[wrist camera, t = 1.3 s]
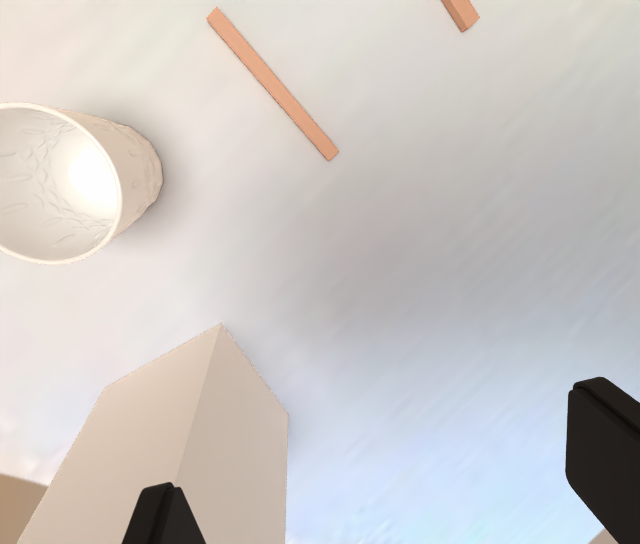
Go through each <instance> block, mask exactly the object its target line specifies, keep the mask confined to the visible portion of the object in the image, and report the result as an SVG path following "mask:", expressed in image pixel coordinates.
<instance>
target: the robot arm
mask: <svg viewBox="0 0 640 544" xmlns="http://www.w3.org/2000/svg"><path fill="white" fill-rule="evenodd" d="M565 472H566V477H567V480H568V482H569V484H570V486H571V487H572V489H573V490H574V491H575V492H576V494H577V495H578V496H579V497H580V498H581V500H582V501H583V502H584V503H585V504H586V505H587V507H588V508H589V509H590V510H591V511H592V513H593V514H594V515H595V516H596V517H597V519H598V520H599V521H600V522H601V523H602V524H603V526H604V527H605V528H606V529H607V530H608V531H609V533H610V534H611V535H612V536H613V538H614V539H615V540H616V541H617V542H618V543H619V544H640V403H639V402H638V401H636V400H635V399H633V398H632V397H631V396H629V395H628V394H627V393H625V392H624V391H623V390H621V389H620V388H619V387H617V386H616V385H614V384H613V383H612V382H610V381H609V380H607V379H606V378H604V377H596V378H592V379H588V380H584V381H580V382H576V383H575V384H574V385H573V390H571V391H570V392H569V394H568V416H567V442H566V468H565ZM122 544H206V542H205V540H204V537H203V535H202V533H201V531H200V528H199V526H198V524H197V522H196V520H195V517H194V515H193V513H192V511H191V508H190V506H189V504H188V502H187V499H186V497H185V495H184V493H183V490H182V489H181V487H174V485H173V484H172V483H171V482H166V483H162V484H158V485H154V486H150V487H146V488H144V489H143V490H142V491H141V493H140V495H139V498H138V501H137V503H136V506H135V509H134V511H133V514H132V517H131V519H130V522H129V525H128V527H127V530H126V533H125V535H124V538H123V541H122Z"/></svg>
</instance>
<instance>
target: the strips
mask: <svg viewBox="0 0 640 544" xmlns="http://www.w3.org/2000/svg"><path fill="white" fill-rule="evenodd" d="M442 2H443V3H444V5H445V7H446V8H447V10H448V11H449V13H450V15H451V16H452V18H453V19H454V21H455V22H456V24H457V26H458V27H459V29H460V30H461V32H463V31H465V30H467V29H468V28H469V27H470V26H471V25H473V24H474V23H475V22H476V21H477V20H478V19H479V18H480V17H479V16H478V14H477V12H476V11H475V9H474V7H473V6H472V4H471V2H470V1H469V0H442ZM206 19H207V21H208V23H209V24H210V25H211V26H212V27H213V28H214V30H215V31H216V32H217V33H218V34H219V35H220V37H221V38H222V39H223V40H224V41H225V42H226V43H227V45H228V46H229V47H230V48H231V49H232V50H233V52H234V53H235V54H236V55H237V56H238V57H239V58H240V60H241V61H242V62H243V63H244V64H245V65H246V67H247V68H248V69H249V70H250V71H251V72H252V73H253V75H254V76H255V77H256V78H257V79H258V80H259V82H260V83H261V84H262V85H263V86H264V87H265V88H266V90H267V91H268V92H269V93H270V94H271V95H272V97H273V98H274V99H275V100H276V101H277V102H278V104H279V105H280V106H281V107H282V108H283V109H284V110H285V112H286V113H287V114H288V115H289V116H290V117H291V119H292V120H293V121H294V122H295V123H296V124H297V125H298V127H299V128H300V129H301V130H302V131H303V132H304V134H305V135H306V136H307V137H308V138H309V139H310V140H311V142H312V143H313V144H314V145H315V146H316V147H317V149H318V150H319V151H320V152H321V153H322V154H323V156H324V157H325V158H326V159H327V160H328V161H329V160H331V159H332V158H333V157H334V156H335V155H336V154H337V153H338V152H339V151H338V149H337V148H336V147H335V146H334V145H333V144H332V142H331V141H330V140H329V139H328V138H327V136H326V135H325V134H324V133H323V132H322V131H321V129H320V128H319V127H318V126H317V125H316V123H315V122H314V121H313V120H312V119H311V118H310V116H309V115H308V114H307V113H306V112H305V110H304V109H303V108H302V107H301V106H300V105H299V103H298V102H297V101H296V100H295V99H294V97H293V96H292V95H291V94H290V93H289V91H288V90H287V89H286V88H285V87H284V86H283V84H282V83H281V82H280V81H279V80H278V78H277V77H276V76H275V75H274V74H273V73H272V71H271V70H270V69H269V68H268V67H267V65H266V64H265V63H264V62H263V61H262V60H261V58H260V57H259V56H258V55H257V54H256V52H255V51H254V50H253V49H252V48H251V47H250V45H249V44H248V43H247V42H246V41H245V39H244V38H243V37H242V36H241V35H240V34H239V32H238V31H237V30H236V29H235V28H234V26H233V25H232V24H231V23H230V22H229V20H228V19H227V18H226V17H225V16H224V15H223V13H222V12H221V11H220V10H219V9H218V7H216V8H215V9H214V10H213V11H212V12H211V13H210V15H209V16H208V17H207V18H206Z"/></svg>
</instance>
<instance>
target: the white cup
mask: <svg viewBox="0 0 640 544" xmlns="http://www.w3.org/2000/svg"><path fill="white" fill-rule="evenodd" d="M162 184H163V177H162V167H161V161H160V159H159V157H158V156H157V154H156V152H155V150H154V149H153V147H152V145H151V144H150V142H149V141H148V140H147V139H145V138H144V137H143V136H141V135H140V134H139V133H138V132H136V131H135V130H134V129H132V128H131V127H129V126H125V125H121V124H117V123H113V122H111V121H109V120H106V119H103V118H99V117H95V116H92V115H87V114H83V113H78V112H73V111H68V110H63V109H58V108H53V107H48V106H43V105H38V104H33V103H27V102H6V103H0V250H1V251H3V252H5V253H7V254H9V255H11V256H13V257H16V258H18V259H21V260H24V261H28V262H32V263H37V264H44V265H62V264H69V263H74V262H77V261H80V260H83V259H85V258H88V257H90V256H91V255H93V254H95V253H96V252H98V251H99V250H100V249H101V248H103V247H104V246H105V245H106V244H108V243H109V242H110V241H111V240H113V239H114V238H115V237H116V236H117V235H119V234H120V233H121V232H123V231H124V230H125V229H127V228H128V227H129V226H130V225H131V224H132V223H133V222H135V221H136V220H137V219H138V218H139V217H140V216H141V215H142V214H143V213H144V211H145V210H146V209H147V208H148V207H149V206H150V205H151V204H153V203H154V202H155V201H156V199H157V197H158V194H159V192H160V189H161V186H162Z"/></svg>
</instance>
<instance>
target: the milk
mask: <svg viewBox="0 0 640 544" xmlns="http://www.w3.org/2000/svg"><path fill="white" fill-rule="evenodd" d="M287 449H288V413H287V411H286V410H285V409H284V407H283V406H282V405H281V403H280V402H279V401H278V399H277V398H276V396H275V395H274V394H273V392H272V391H271V390H270V388H269V387H268V386H267V384H266V383H265V382H264V380H263V379H262V378H261V376H260V375H259V374H258V372H257V371H256V369H255V368H254V367H253V365H252V364H251V363H250V361H249V360H248V359H247V357H246V356H245V355H244V353H243V352H242V351H241V349H240V348H239V347H238V345H237V344H236V342H235V341H234V340H233V338H232V337H231V336H230V334H229V333H228V332H227V330H226V329H225V328H224V326H223V325H222V324H221V323H220V324H218V325H216V326H214V327H213V328H211V329H209V330H207V331H205V332H204V333H202V334H200V335H198V336H196V337H195V338H193V339H191V340H189V341H187V342H186V343H184V344H182V345H180V346H178V347H177V348H175V349H173V350H171V351H169V352H168V353H166V354H164V355H162V356H160V357H159V358H157V359H155V360H153V361H151V362H150V363H148V364H146V365H144V366H142V367H140V368H139V369H137V370H135V371H133V372H131V373H130V374H128V375H126V376H124V377H122V378H121V379H119V380H117V381H115V382H113V383H112V384H110V385H108V386H106V387H105V388H104V390H103V392H102V394H101V395H100V397H99V399H98V401H97V402H96V404H95V406H94V408H93V409H92V411H91V413H90V415H89V417H88V418H87V420H86V422H85V424H84V425H83V427H82V429H81V431H80V432H79V434H78V436H77V438H76V439H75V441H74V443H73V445H72V447H71V448H70V450H69V452H68V454H67V455H66V457H65V459H64V461H63V462H62V464H61V466H60V468H59V470H58V471H57V473H56V475H55V477H54V478H53V480H52V482H51V484H50V485H49V487H48V489H47V491H46V493H45V494H44V496H43V498H42V500H41V502H40V503H39V505H38V507H37V509H36V510H35V512H34V514H33V515H32V517H31V519H30V521H29V523H28V525H27V526H26V528H25V530H24V531H23V533H22V535H21V537H20V539H19V540H18V542H17V544H122V541H123V538H124V535H125V533H126V530H127V527H128V525H129V522H130V519H131V517H132V514H133V511H134V509H135V506H136V503H137V501H138V498H139V495H140V493H141V491H142V490H143V489H144V488H146V487H150V486H154V485H158V484H162V483H166V482H171V483H172V484H173V485H174V487H181V489H182V490H183V493H184V495H185V497H186V499H187V502H188V504H189V506H190V508H191V511H192V513H193V515H194V517H195V520H196V522H197V524H198V526H199V528H200V531H201V533H202V535H203V537H204V540H205V542H206V544H285V525H286V487H287Z"/></svg>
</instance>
